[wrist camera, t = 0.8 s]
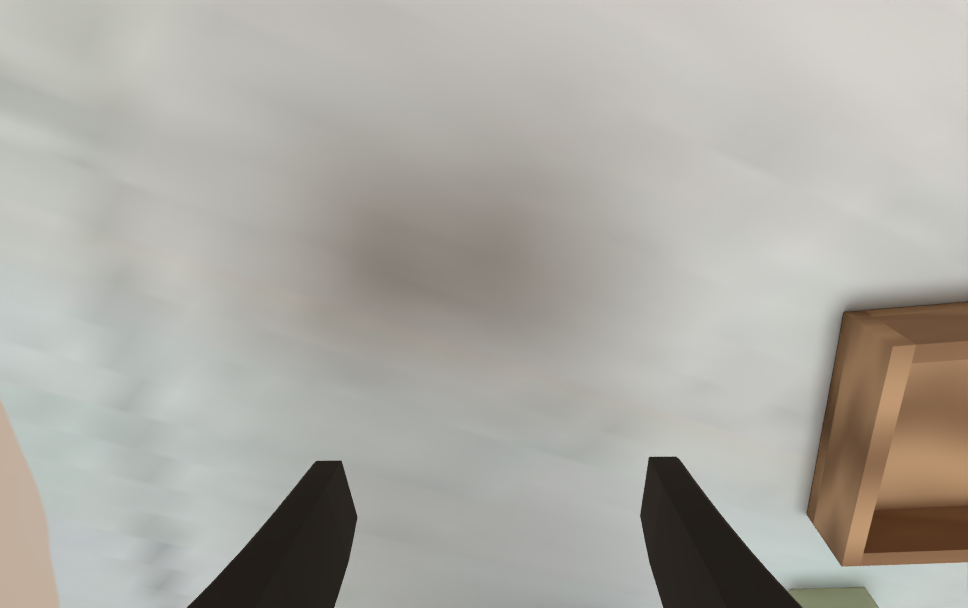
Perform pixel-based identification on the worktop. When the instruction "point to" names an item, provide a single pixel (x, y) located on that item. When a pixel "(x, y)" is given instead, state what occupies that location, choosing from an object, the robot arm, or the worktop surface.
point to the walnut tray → (896, 439)
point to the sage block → (833, 598)
